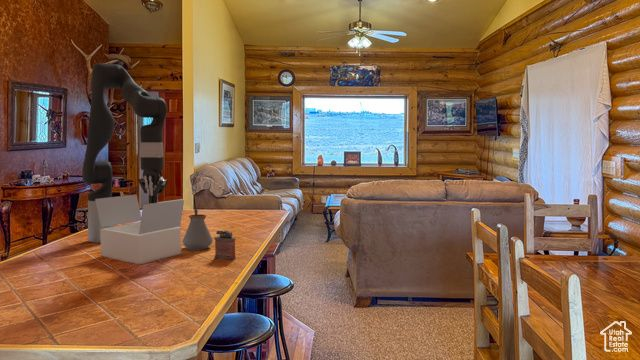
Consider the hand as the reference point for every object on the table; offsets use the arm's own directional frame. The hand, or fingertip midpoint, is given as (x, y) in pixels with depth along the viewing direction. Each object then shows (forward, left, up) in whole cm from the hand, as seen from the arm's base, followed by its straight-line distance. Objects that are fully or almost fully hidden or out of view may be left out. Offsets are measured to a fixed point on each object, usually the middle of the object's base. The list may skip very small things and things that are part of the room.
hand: (153, 206), depth 164 cm
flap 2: (0, +4, -4) cm, 5 cm away
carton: (-12, +4, -20) cm, 23 cm away
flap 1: (-24, +4, -4) cm, 25 cm away
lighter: (+17, +17, -20) cm, 31 cm away
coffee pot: (-7, +26, -20) cm, 34 cm away
